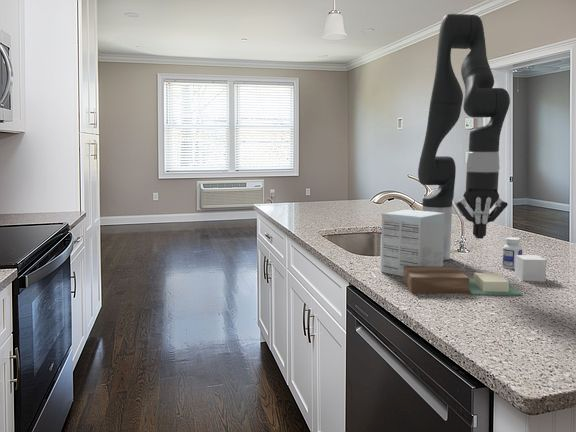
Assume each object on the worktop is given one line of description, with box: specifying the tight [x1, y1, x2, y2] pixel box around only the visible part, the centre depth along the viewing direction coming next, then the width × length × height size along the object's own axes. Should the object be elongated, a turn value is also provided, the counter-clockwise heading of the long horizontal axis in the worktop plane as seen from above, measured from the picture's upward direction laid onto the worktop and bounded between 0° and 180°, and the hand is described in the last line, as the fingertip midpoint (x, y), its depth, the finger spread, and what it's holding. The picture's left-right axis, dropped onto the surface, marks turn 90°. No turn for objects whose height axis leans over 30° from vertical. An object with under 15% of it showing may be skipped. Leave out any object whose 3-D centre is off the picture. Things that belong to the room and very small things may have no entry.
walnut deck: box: [402, 266, 470, 295], centre depth 128 cm, size 12×14×4 cm
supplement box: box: [380, 209, 445, 277], centre depth 144 cm, size 13×13×18 cm
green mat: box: [469, 278, 523, 296], centre depth 128 cm, size 14×12×1 cm
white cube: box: [514, 254, 548, 282], centre depth 136 cm, size 6×6×6 cm
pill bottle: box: [502, 237, 523, 270], centre depth 149 cm, size 5×5×9 cm
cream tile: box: [473, 272, 510, 292], centre depth 127 cm, size 9×6×2 cm, turn 174°
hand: (479, 237), depth 126 cm, fingers closed
